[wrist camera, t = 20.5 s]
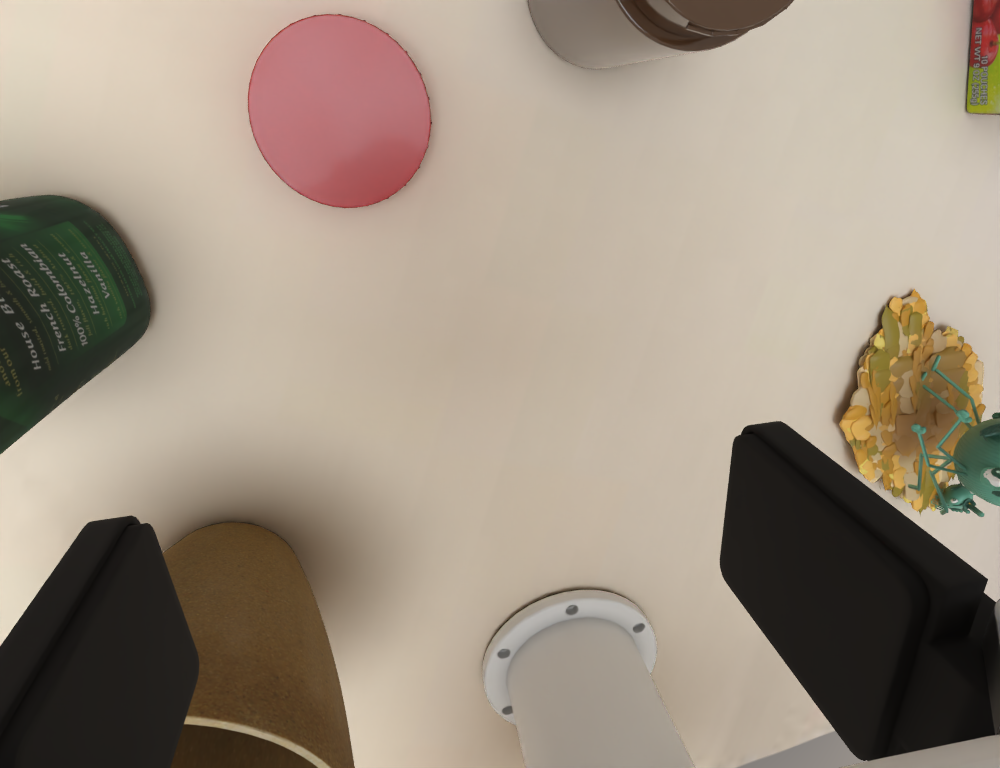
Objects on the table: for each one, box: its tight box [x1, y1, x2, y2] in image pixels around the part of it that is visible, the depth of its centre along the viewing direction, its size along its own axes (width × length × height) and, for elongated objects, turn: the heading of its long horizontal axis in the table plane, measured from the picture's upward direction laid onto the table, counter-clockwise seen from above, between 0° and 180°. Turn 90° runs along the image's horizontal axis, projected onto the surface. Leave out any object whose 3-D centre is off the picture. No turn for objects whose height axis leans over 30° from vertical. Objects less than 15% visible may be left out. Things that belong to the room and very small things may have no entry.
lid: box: [248, 14, 432, 208], centre depth 27 cm, size 8×8×2 cm
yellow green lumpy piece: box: [840, 289, 1000, 517], centre depth 35 cm, size 10×18×15 cm, turn 17°
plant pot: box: [163, 522, 355, 768], centre depth 30 cm, size 15×15×16 cm
